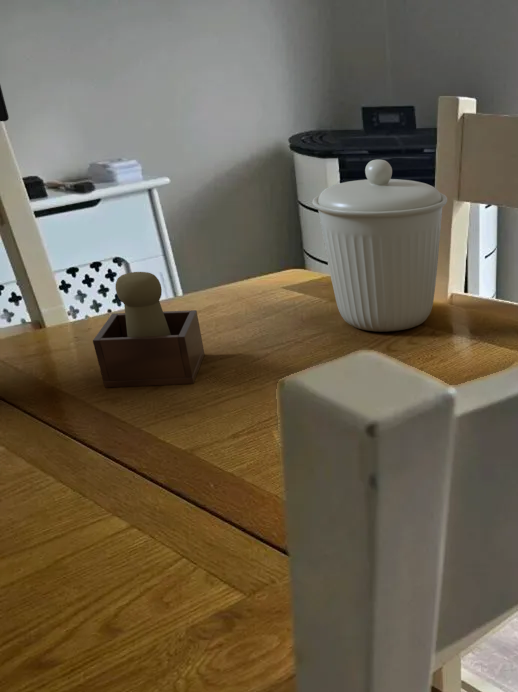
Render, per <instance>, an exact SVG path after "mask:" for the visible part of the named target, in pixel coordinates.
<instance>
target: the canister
mask: <svg viewBox="0 0 518 692" xmlns="http://www.w3.org/2000/svg"><path fill="white" fill-rule="evenodd" d="M364 173H365V177H366V179H358V180H350V181H343V182H340V183H336V184H332V185H330V186H328V187H326V188H324V189H323V190H322V191H321V192H320V194H318V195H317V196H315V197H313V199H312V203H311V204H312V205H313V207H314V208H315V209H316V210H317V211H318V216H319V222H320V227H321V233H322V239H323V242H324V248H325V253H326V258H327V264H328V269H329V274H330V280H331V284H332V289H333V293H334V297H335V298H334V299H335V303H336V306H337V308H338V312H339V314H340V316H341V318H342V319H343V320H344V322H345V323H347V324H348V325H349V326H352V327H353V328H356V329H359V330H363V331H368V332H380V333H381V332H383V333H384V332H385V333H387V332H399V331H404V330H409V329H413V328H415V327H417V326H420V325H421V324H424V322H426V320H427V319H428V317H430V315H431V313H432V309H433V306H434V302H435V301H434V300H435V291H436V283H437V276H438V275H437V273H438V265H439V264H438V263H439V253H440V252H439V251H440V240H441V229H442V219H443V217H442V216H443V208H444V207H445V206H446V205H447V203H448V197H447V195H446V194H444V193H442V192H440V191H439V190H438V189H437V188H436V187H435V186H433V185H430V184H428V183H425V182H421V181H417V180H411V179H397V178H392V175H393V168H392V166H391V164H390V163H389V162H388V161H387V160H385V159H373V160H370V161H369V162H368V163H367V164H366V166H365V169H364Z"/></svg>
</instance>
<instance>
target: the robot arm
mask: <svg viewBox="0 0 518 692" xmlns="http://www.w3.org/2000/svg"><path fill="white" fill-rule="evenodd" d="M9 118H10V117H9V112H8V108H7V105H6V102H5V96H4V93H3V89H2V85H1V84H0V122H7V121H9Z"/></svg>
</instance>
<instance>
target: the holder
mask: <svg viewBox="0 0 518 692" xmlns="http://www.w3.org/2000/svg"><path fill="white" fill-rule="evenodd" d="M163 313H164V316H165V319H166V322H167V325H168V328H169V331H170V334H171V335H166V336H142V337H128V336H127V327H126V317H125V312H120V313H117V312H116V313H115V312H114V313H112V314H111V315H110V316H109V317H108V319H107V320H106V321H105V323H104V324H103V326H102V327H101V329H100V330H99V331H98V332H97V334H96V336H95V337H94V338H93V339H92V343H93V348H94V351H95V355H96V359H97V363H98V367H99V370H100V374H101V378H102V381H103V385H104V388H105V389H109V388H128V387H129V388H130V387H149V386H152V387H153V386H168V385H169V386H171V385H173V386H174V385H191V384H192V385H193V384H194V383H195V381H196V377H197V375H198V373H199V370H200V368H201V364H202V362H203V360H204V357H205V349H204V344H203V339H202V338H203V337H202V333H201V328H200V321H199V316H198V310H194V309H193V310H191V309H189V310H168V311H165V310H163Z"/></svg>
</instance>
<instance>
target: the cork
mask: <svg viewBox="0 0 518 692" xmlns="http://www.w3.org/2000/svg"><path fill="white" fill-rule="evenodd" d="M162 291H163V290H162V284H161V282H160V279H158V277H157V276H156V275H155V274H154V273H152V272H147V271H131V272H128V273H123V274H122V275H120V276H118V277H117V279H116V282H115V292H116V295H117V298H118V299H119V300H120V302H121V303H122V304H123V306H124V313H125V317H126V327H127V336H128V337H142V336H166V335H171V334H170V331H169V328H168V325H167V322H166V319H165V316H164V313H163V312H164V310H163V308H162V304H161V302H160V299H161V297H162Z"/></svg>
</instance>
